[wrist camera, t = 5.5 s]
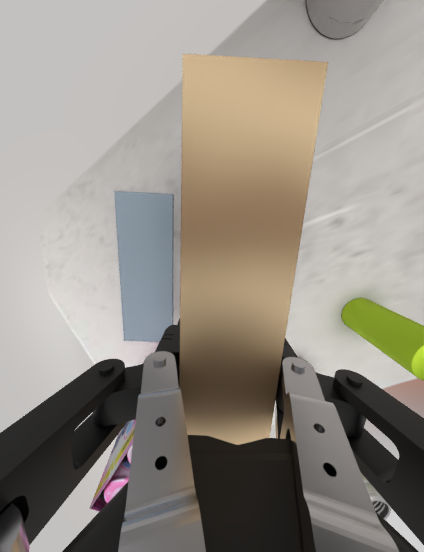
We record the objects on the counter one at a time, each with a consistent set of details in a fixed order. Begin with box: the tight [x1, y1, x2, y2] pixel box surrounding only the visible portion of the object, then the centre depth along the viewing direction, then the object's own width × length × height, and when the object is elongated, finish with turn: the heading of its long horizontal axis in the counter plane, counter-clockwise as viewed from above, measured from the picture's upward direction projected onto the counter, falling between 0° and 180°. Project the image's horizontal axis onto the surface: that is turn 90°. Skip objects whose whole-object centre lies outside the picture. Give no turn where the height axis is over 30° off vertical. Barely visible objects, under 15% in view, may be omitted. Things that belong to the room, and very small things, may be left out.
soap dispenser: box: [342, 298, 424, 380], centre depth 26 cm, size 6×7×20 cm
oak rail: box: [179, 54, 328, 445], centre depth 10 cm, size 22×4×4 cm, turn 177°
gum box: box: [90, 419, 136, 512], centre depth 33 cm, size 24×8×14 cm, turn 149°
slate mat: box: [114, 191, 173, 342], centre depth 34 cm, size 26×9×1 cm, turn 177°
